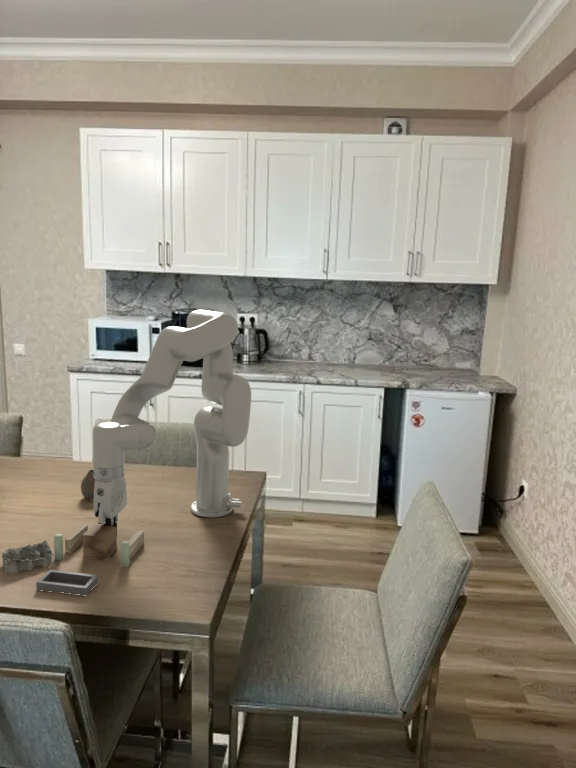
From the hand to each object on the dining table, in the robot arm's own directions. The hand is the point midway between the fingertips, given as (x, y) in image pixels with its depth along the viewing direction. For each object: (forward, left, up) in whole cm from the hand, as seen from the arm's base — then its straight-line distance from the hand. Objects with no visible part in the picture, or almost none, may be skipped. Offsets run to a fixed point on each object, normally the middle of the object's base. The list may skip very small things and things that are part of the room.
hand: (110, 537), depth 150 cm
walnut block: (0, +6, -1) cm, 6 cm away
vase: (+18, -27, -2) cm, 32 cm away
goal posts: (0, +10, -1) cm, 10 cm away
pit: (0, +22, -1) cm, 22 cm away
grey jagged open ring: (+14, +14, -2) cm, 20 cm away
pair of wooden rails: (0, +3, -1) cm, 3 cm away
